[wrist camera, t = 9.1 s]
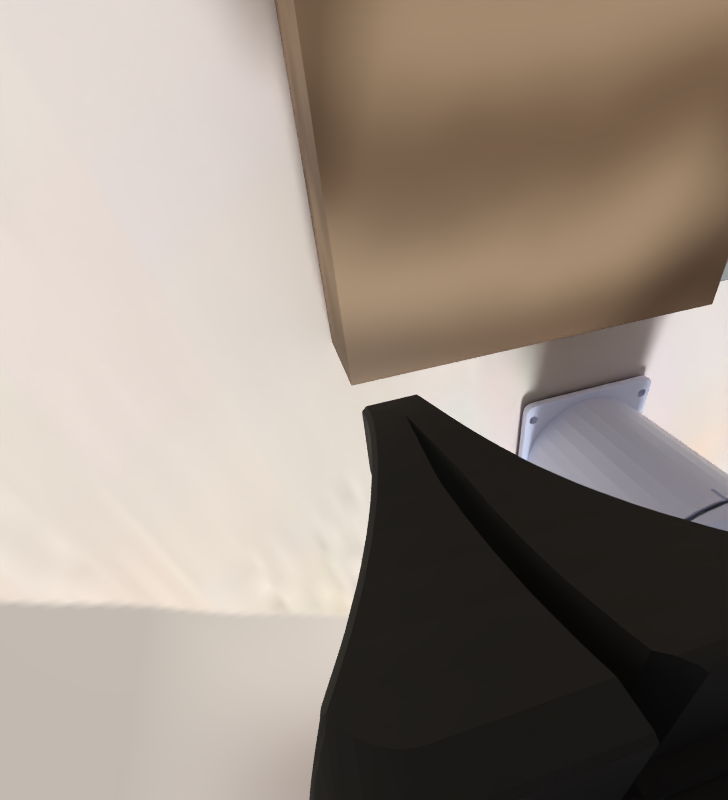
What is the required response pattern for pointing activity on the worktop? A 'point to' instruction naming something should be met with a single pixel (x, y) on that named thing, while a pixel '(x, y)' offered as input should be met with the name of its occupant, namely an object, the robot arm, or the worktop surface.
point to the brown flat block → (507, 168)
